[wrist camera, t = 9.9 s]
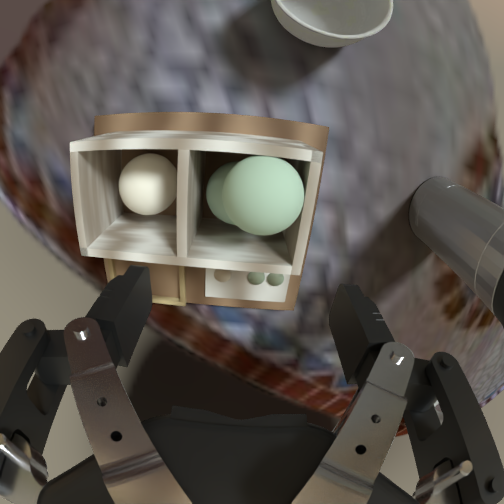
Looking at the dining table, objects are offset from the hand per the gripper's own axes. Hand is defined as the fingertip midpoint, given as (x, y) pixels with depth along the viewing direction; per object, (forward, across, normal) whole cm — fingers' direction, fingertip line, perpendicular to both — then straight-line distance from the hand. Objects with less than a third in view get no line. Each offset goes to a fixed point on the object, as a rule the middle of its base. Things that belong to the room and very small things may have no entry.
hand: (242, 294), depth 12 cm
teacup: (+21, -5, -22) cm, 31 cm away
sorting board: (+21, +5, +4) cm, 22 cm away
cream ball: (+19, +10, 0) cm, 21 cm away
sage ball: (+12, +1, 0) cm, 12 cm away
